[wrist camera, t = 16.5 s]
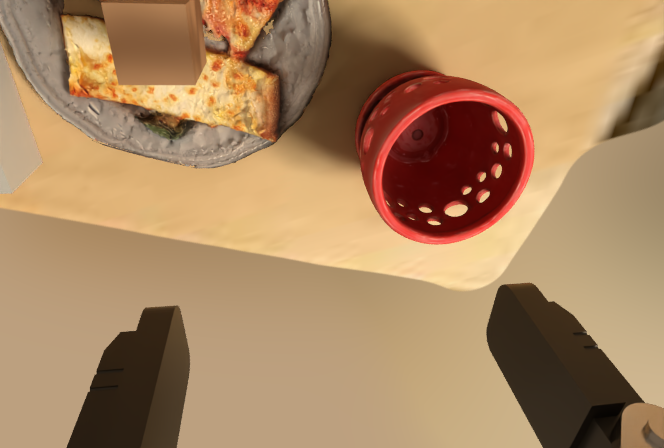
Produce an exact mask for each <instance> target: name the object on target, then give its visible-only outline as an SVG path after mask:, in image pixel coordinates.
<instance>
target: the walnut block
mask: <svg viewBox="0 0 664 448" xmlns="http://www.w3.org/2000/svg"><path fill="white" fill-rule="evenodd" d="M101 6H102V10H103V15H104V20H105V24H106V29H107V34H108V38H109V43H110V47H111V52H112V57H113V61H114V66H115V70H116V75H117V80H118V84H119V85H196V83H197V81H198V79H199V77H200V75H201V73H202V71H203V69H204V67H205V65H206V63H207V59H206V50H205V41H204V32H203V23H202V13H201V4H200V0H106V1H104V2H101Z"/></svg>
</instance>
